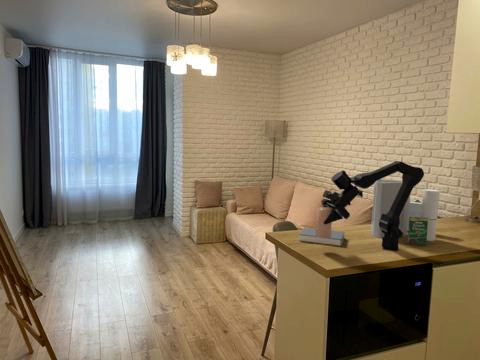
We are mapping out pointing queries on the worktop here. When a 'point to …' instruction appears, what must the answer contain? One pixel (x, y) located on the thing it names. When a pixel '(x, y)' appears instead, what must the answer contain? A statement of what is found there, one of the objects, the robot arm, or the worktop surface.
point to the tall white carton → (387, 205)
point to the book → (310, 236)
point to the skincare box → (414, 211)
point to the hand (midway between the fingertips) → (321, 221)
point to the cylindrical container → (430, 211)
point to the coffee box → (417, 230)
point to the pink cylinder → (321, 228)
